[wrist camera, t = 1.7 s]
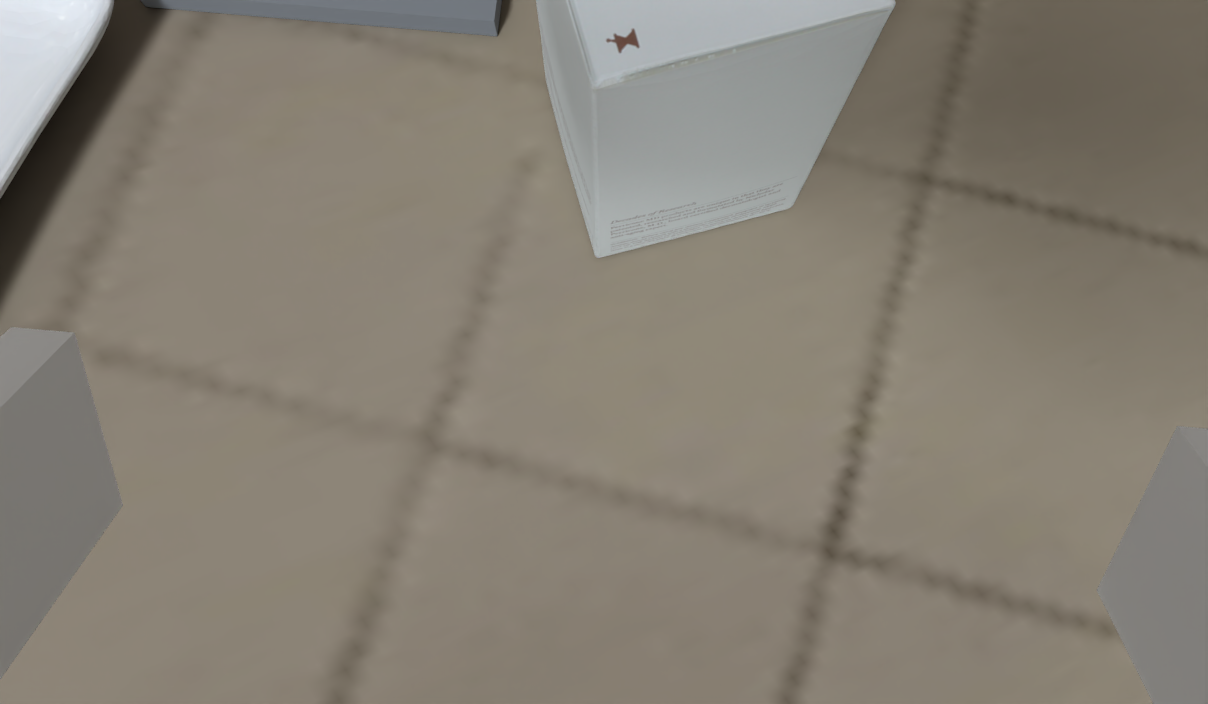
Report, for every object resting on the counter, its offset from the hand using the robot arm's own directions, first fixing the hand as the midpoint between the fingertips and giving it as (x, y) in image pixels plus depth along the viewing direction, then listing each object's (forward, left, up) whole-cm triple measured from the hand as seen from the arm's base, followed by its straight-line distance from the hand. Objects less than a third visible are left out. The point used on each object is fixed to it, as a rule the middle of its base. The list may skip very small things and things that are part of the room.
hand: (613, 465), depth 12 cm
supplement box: (-1, -13, -20) cm, 24 cm away
